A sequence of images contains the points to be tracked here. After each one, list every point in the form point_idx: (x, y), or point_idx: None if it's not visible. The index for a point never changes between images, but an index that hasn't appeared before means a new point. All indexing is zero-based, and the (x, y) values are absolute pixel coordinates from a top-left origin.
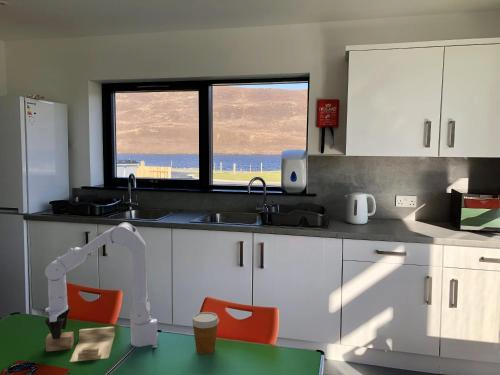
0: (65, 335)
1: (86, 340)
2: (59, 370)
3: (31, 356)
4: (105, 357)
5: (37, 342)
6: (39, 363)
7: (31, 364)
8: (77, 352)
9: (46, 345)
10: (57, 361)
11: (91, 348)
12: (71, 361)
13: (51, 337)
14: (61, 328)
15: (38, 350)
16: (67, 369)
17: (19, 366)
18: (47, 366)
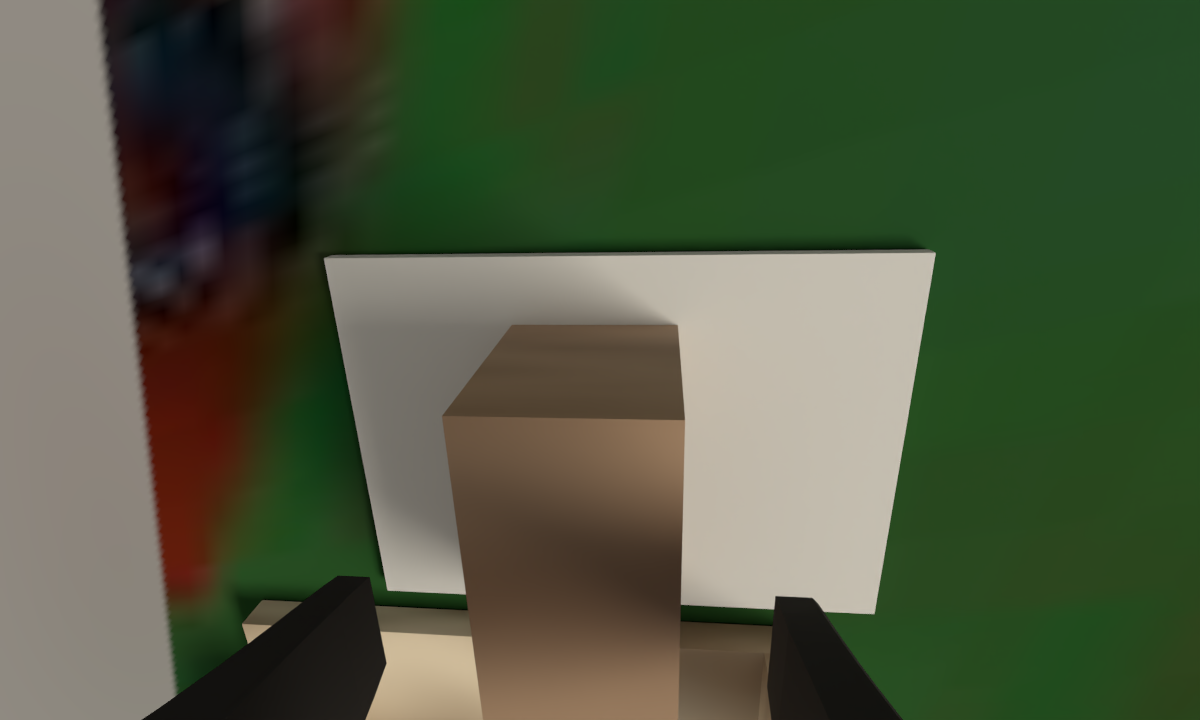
0: (543, 688)
1: (726, 717)
2: (157, 534)
3: (476, 130)
4: None
5: (979, 56)
6: (285, 302)
7: (259, 209)
8: (437, 666)
9: (484, 372)
10: (329, 483)
11: None
12: (248, 639)
13: (495, 502)
14: (773, 650)
15: (654, 175)
16: (181, 594)
17: (202, 56)
18: (223, 408)
